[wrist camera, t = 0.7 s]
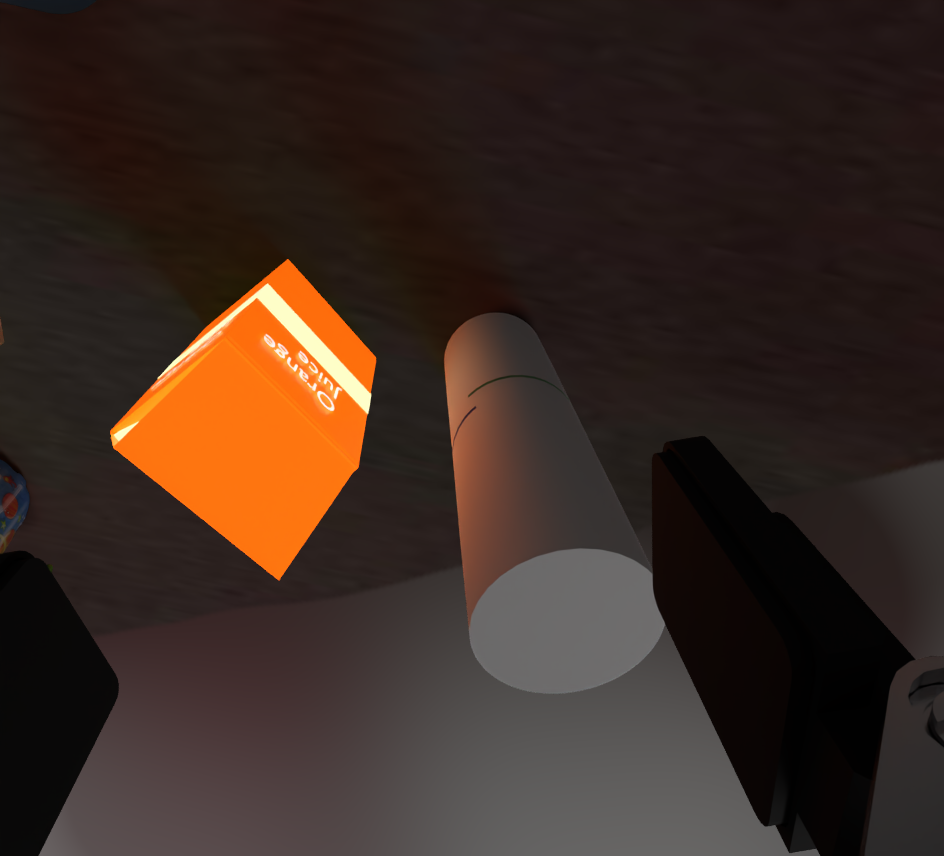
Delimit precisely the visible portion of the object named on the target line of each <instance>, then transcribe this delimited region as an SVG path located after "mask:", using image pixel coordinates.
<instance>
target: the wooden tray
mask: <svg viewBox="0 0 944 856" xmlns="http://www.w3.org/2000/svg"><path fill="white" fill-rule="evenodd" d="M3 343H4V337H3V331H2V325H1V320H0V345H1V344H3Z"/></svg>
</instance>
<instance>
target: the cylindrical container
mask: <svg viewBox="0 0 944 856" xmlns="http://www.w3.org/2000/svg"><path fill="white" fill-rule="evenodd" d="M444 366H445V378H446V389H447V401H448V411H449V421H450V432H451V442H452V452H453V464H454V475H455V486H456V498H457V509H458V521H459V532H460V542H461V553H462V563H463V573H464V584H465V594H466V604H467V615H468V625H469V635H470V645H471V647H472V650H473V652H474V655H475V657H476V659H477V660H478V661H479V663H480V664H481V665H482V667H483V668H484V669H485V670H486V671H487V672H488V673H490V674H491V675H492V676H493V677H495V678H496V679H498V680H500V681H502V682H503V683H505V684H507V685H509V686H512V687H515V688H518V689H521V690H524V691H530V692H536V693H551V694H561V693H569V692H578V691H582V690H585V689H589V688H593V687H596V686H599V685H602V684H604V683H607V682H609V681H612V680H614V679H616V678H617V677H619V676H621V675H623V674H624V673H626V672H628V671H629V670H631V669H632V668H633V667H634V666H636V665H637V664H638V663H640V662H641V661H642V660H643V659H644V658H645V657H646V656H647V655H648V653H649V652H650V651H651V650H652V649H653V647H654V646H655V644H656V643H657V641H658V640H659V638H660V636H661V633H662V631H663V628H664V625H665V622H664V620H663V618H662V616H661V614H660V612H659V610H658V607H657V604H656V601H655V597H654V592H653V569H652V567H651V565H650V563H649V561H648V559H647V557H646V555H645V553H644V551H643V549H642V547H641V545H640V544H639V541H638V539H637V537H636V535H635V533H634V531H633V529H632V526H631V524H630V522H629V520H628V518H627V516H626V514H625V512H624V510H623V508H622V506H621V504H620V502H619V500H618V498H617V496H616V494H615V492H614V490H613V488H612V486H611V484H610V482H609V480H608V478H607V476H606V474H605V471H604V469H603V467H602V465H601V463H600V461H599V459H598V457H597V455H596V453H595V451H594V449H593V447H592V445H591V443H590V441H589V439H588V437H587V435H586V433H585V431H584V429H583V427H582V425H581V423H580V420H579V418H578V416H577V414H576V412H575V410H574V408H573V406H572V404H571V402H570V400H569V398H568V396H567V394H566V392H565V390H564V388H563V386H562V384H561V382H560V380H559V378H558V376H557V374H556V372H555V370H554V368H553V366H552V364H551V362H550V360H549V358H548V356H547V354H546V352H545V350H544V348H543V346H542V344H541V342H540V340H539V338H538V336H537V334H536V332H535V331H534V330H533V329H532V327H531V326H530V325H528V324H527V323H526V322H525V321H523V320H522V319H520V318H518V317H516V316H513V315H510V314H506V313H497V312H496V313H486V314H482V315H479V316H476V317H474V318H472V319H470V320H468V321H466V322H465V323H464V324H462V325H461V326H460V327H459V328H458V329H457V330H456V331H455V332H454V334H453V335H452V337H451V338H450V340H449V342H448V344H447V347H446V350H445V357H444Z"/></svg>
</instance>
